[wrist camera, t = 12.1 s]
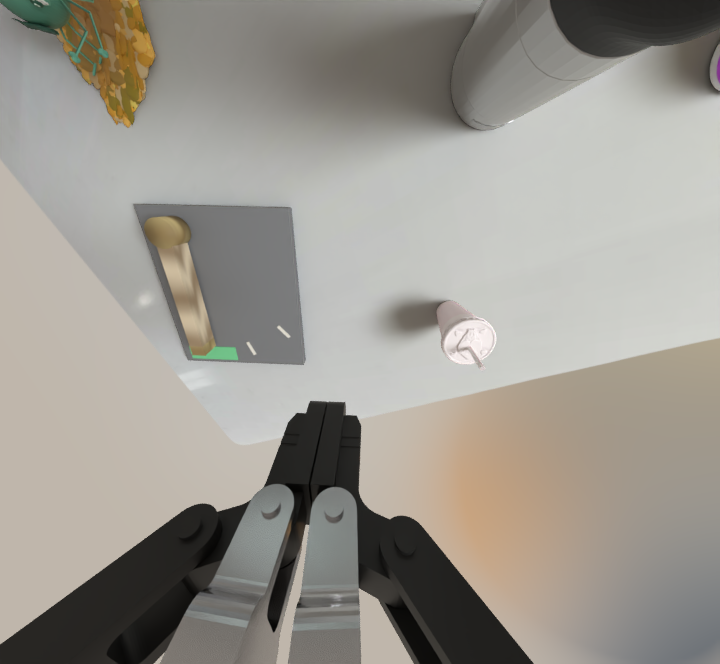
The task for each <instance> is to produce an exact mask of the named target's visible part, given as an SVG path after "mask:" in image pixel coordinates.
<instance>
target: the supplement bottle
mask: <svg viewBox="0 0 720 664" xmlns="http://www.w3.org/2000/svg"><path fill="white" fill-rule="evenodd" d="M710 80H711V83H712V85H713V86H714V87H715V88H716V89H717V90H719V91H720V43H719V44H718V46H717V48H716V50H715V52H714V54H713V57H712V60H711V64H710Z"/></svg>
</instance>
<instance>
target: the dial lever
mask: <svg viewBox="0 0 720 664" xmlns="http://www.w3.org/2000/svg"><path fill="white" fill-rule="evenodd" d="M144 231H145V234H146V236H147V238H148V239H149V241H150V242H151V243H152V244H153V245H155V246H156V247H157V249H158V252H159V255H160V258H161V261H162V264H163V267H164V270H165V273H166V276H167V279H168V282H169V285H170V288H171V291H172V294H173V297H174V300H175V303H176V306H177V310H178V313H179V316H180V319H181V322H182V325H183V328H184V331H185V334H186V337H187V340H188V343H189V346H190V349H191V352H192V355H200V356H206V355H207V354H208V353H209V352H210V351H211V350H212V349H213V348H214V347H215V346H216V344H215V340H214V337H213V333H212V330H211V326H210V322H209V319H208V315H207V311H206V308H205V304H204V301H203V297H202V293H201V290H200V286H199V282H198V279H197V275H196V272H195V268H194V264H193V261H192V257H191V254H190V250H189V246H188V242H189V241H190V239H191V230H190V228H189V226H188V224H187V223H186V222H185V221H184V220H183V219H181V218H180V217H177V216H163V217H153V218H149V219H148V220H147V221H146V222H145V225H144Z"/></svg>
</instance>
